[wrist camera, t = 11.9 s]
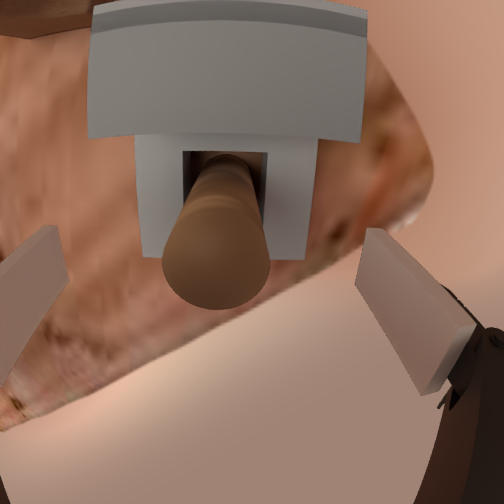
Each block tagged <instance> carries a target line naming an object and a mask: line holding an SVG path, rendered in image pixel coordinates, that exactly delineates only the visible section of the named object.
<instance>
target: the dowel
mask: <svg viewBox="0 0 504 504" xmlns="http://www.w3.org/2000/svg"><path fill="white" fill-rule="evenodd" d="M162 266H163V272H164V275H165V278H166V280H167V282H168V284H169V285H170V287H171V288H172V289H173V290H174V292H175V293H176V294H177V295H179V296H180V297H181V298H182V299H184V300H185V301H187V302H189V303H190V304H193V305H195V306H197V307H201V308H205V309H211V310H224V309H230V308H234V307H237V306H240V305H242V304H244V303H246V302H248V301H249V300H251V299H252V298H253V297H254V296H256V295H257V294H258V293H259V291H260V290H261V289H262V287H263V286H264V284H265V282H266V280H267V278H268V275H269V270H270V258H269V252H268V248H267V243H266V239H265V234H264V230H263V226H262V221H261V217H260V213H259V209H258V204H257V200H256V196H255V191H254V187H253V183H252V179H251V175H250V171H249V168H248V166H247V165H246V163H245V162H244V161H243V160H242V159H240V158H239V157H237V156H234V155H231V154H220V155H216V156H214V157H212V158H211V159H209V160H208V161H207V162H206V163H205V164H204V166H203V168H202V170H201V172H200V174H199V176H198V178H197V179H196V181H195V183H194V185H193V187H192V189H191V192H190V194H189V196H188V198H187V200H186V202H185V204H184V206H183V208H182V210H181V212H180V214H179V216H178V218H177V221H176V223H175V225H174V227H173V229H172V231H171V233H170V236H169V238H168V240H167V242H166V245H165V247H164V250H163V256H162Z"/></svg>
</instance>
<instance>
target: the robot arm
mask: <svg viewBox="0 0 504 504" xmlns="http://www.w3.org/2000/svg"><path fill="white" fill-rule="evenodd" d="M68 282H69V277H68V273H67V269H66V265H65V261H64V256H63V252H62V247H61V242H60V237H59V232H58V227H57V225H44V226H43V227H41V228H40V229H39V230H38V231H36V232H35V233H34V234H33V235H32V236H30V237H29V238H28V239H27V240H26V241H25V242H23V243H22V244H21V245H20V246H19V247H18V248H17V249H15V250H14V251H13V252H12V253H11V254H10V255H9V256H8V257H7V258H6V259H4V260H3V261H2V262H1V263H0V387H2V386H3V384H4V383H5V381H6V379H7V377H8V375H9V373H10V372H11V370H12V368H13V366H14V365H15V363H16V361H17V359H18V358H19V356H20V354H21V353H22V351H23V349H24V348H25V346H26V344H27V343H28V341H29V340H30V338H31V336H32V335H33V333H34V332H35V330H36V329H37V327H38V325H39V324H40V322H41V321H42V319H43V318H44V316H45V315H46V313H47V312H48V310H49V309H50V308H51V306H52V305H53V303H54V302H55V300H56V299H57V297H58V296H59V295H60V293H61V292H62V290H63V289H64V288H65V286H66V285H67V284H68ZM355 285H356V287H357V289H358V290H359V292H360V293H361V295H362V296H363V298H364V300H365V301H366V303H367V304H368V306H369V307H370V309H371V311H372V312H373V314H374V316H375V317H376V319H377V320H378V322H379V324H380V325H381V327H382V329H383V331H384V332H385V334H386V336H387V337H388V339H389V341H390V342H391V344H392V345H393V347H394V349H395V351H396V352H397V354H398V356H399V358H400V359H401V361H402V363H403V365H404V366H405V368H406V370H407V372H408V374H409V375H410V377H411V379H412V381H413V383H414V384H415V386H416V388H417V390H418V392H419V394H420V395H421V396H423V395H427V394H430V393H434V392H438V391H439V390H440V389H441V387H442V385H443V384H444V382H445V381H446V379H447V378H448V380H449V381H450V383H451V385H452V386H451V387H450V389H449V390H448V392H447V393H446V394H445V396H444V397H443V399H442V400H441V402H440V403H439V405H438V407H437V408H438V409H440V407H441V406H442V405H443V404H444V403H445V405H444V410H443V414H442V418H441V422H440V426H439V430H438V434H437V438H436V441H435V444H434V448H433V451H432V454H431V457H430V460H429V464H428V466H427V469H426V472H425V475H424V478H423V481H422V484H421V486H420V489H419V491H418V494H417V496H416V499H415V501H414V503H413V504H504V331H502V330H500V329H498V328H493V327H490V328H486V329H485V328H484V327H483V326H482V325H481V323H480V322H479V321H478V320H477V319H476V318H475V317H474V316H473V315H472V313H471V312H470V311H469V310H468V309H467V308H466V307H464V305H463V304H462V303H461V301H460V300H457V297H456V296H455V295H454V294H453V293H452V292H451V291H450V290H449V289H447V288H446V287H444V286H443V285H441V284H440V283H439V282H438V281H437V280H435V278H434V277H433V276H432V275H431V274H430V273H429V272H428V271H427V270H426V269H425V268H424V267H423V266H422V265H421V264H420V263H419V262H417V260H415V259H414V258H413V257H412V256H411V255H410V254H409V253H408V252H407V251H406V250H405V249H404V248H403V247H402V246H401V245H400V244H399V243H398V242H396V240H394V239H393V238H392V237H391V236H390V235H389V234H388V233H387V232H386V231H385V230H383V229H382V228H367V230H366V235H365V240H364V244H363V249H362V254H361V258H360V263H359V267H358V272H357V276H356V281H355ZM0 504H10V501H9V499H8V496H7V493H6V491H5V488H4V485H3V482H2V479H1V477H0Z"/></svg>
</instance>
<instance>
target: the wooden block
mask: <svg viewBox="0 0 504 504" xmlns="http://www.w3.org/2000/svg"><path fill="white" fill-rule="evenodd" d="M110 2H114V0H0V35H4V36H10V37H17V38H23V39H31V38H34V37H39V36H43V35H47V34H52V33H56V32H61V31H66V30H72V29H78V28H84V27H91V26H92V18H93V11H94V6H96V5H101V4H105V3H110Z"/></svg>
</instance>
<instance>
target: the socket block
mask: <svg viewBox="0 0 504 504" xmlns="http://www.w3.org/2000/svg"><path fill="white" fill-rule="evenodd" d="M366 59H367V10H364V9H361V8H357V7H352V6H348V5H344V4H339V3H335V2H330V1H324V0H120V1H115V2H110V3H105V4H101V5H96V6H94V11H93V18H92V27H91V37H90V48H89V63H88V89H87V120H88V139H95V138H105V137H117V136H130V135H135V166H136V185H137V200H138V212H139V223H140V234H141V243H142V252H143V257H156V258H162V256H163V250H164V247H165V245H166V242H167V240H168V238H169V236H170V233H171V231H172V229H173V227H174V225H175V223H176V221H177V218H178V216H179V214H180V212H181V210H182V208H183V206H184V204H185V202H186V200H187V198H188V196H189V194H190V192H191V151H242V152H262V163H261V181H260V198H259V213H260V217H261V221H262V226H263V230H264V234H265V239H266V243H267V248H268V252H269V258H270V260H305V252H306V245H307V238H308V230H309V222H310V214H311V205H312V197H313V188H314V179H315V169H316V159H317V149H318V139H327V140H336V141H344V142H352V143H359V144H360V138H361V128H362V118H363V107H364V94H365V78H366Z"/></svg>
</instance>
